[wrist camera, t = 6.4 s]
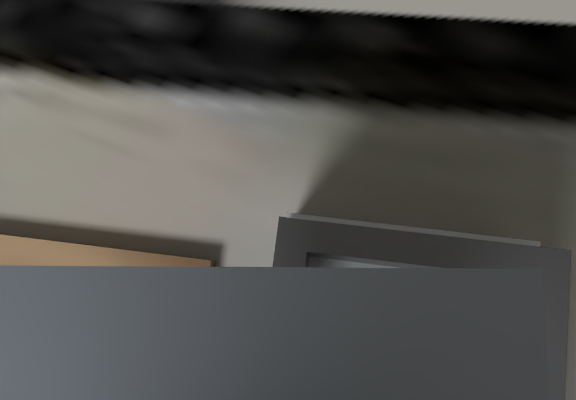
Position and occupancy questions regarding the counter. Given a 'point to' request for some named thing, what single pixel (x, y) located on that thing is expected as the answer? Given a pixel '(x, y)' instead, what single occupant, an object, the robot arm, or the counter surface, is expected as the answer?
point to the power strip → (432, 262)
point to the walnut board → (83, 255)
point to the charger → (271, 333)
